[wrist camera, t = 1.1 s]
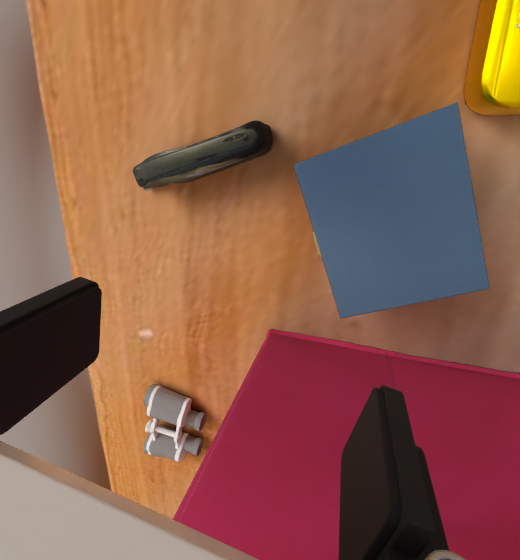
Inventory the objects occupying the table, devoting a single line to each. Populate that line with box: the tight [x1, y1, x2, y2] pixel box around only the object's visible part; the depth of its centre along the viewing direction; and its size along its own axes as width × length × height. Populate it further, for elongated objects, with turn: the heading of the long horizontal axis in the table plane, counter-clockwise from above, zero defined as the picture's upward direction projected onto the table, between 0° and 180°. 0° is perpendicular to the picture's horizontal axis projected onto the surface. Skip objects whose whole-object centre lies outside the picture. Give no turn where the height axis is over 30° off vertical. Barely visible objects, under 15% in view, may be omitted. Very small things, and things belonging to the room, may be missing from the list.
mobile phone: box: [133, 121, 273, 191], centre depth 31 cm, size 5×3×15 cm
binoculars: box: [143, 384, 206, 462], centre depth 46 cm, size 12×8×4 cm, turn 171°
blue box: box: [294, 103, 489, 318], centre depth 27 cm, size 13×11×8 cm
